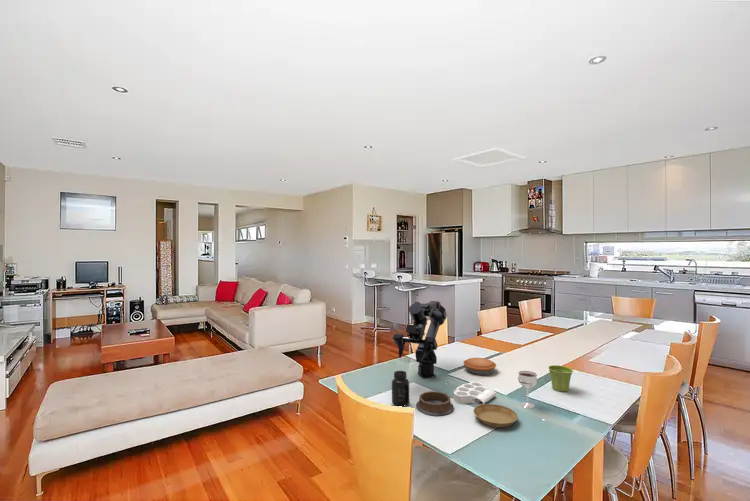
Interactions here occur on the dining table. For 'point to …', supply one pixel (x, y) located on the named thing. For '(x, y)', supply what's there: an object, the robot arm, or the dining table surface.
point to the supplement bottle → (400, 389)
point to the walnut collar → (434, 404)
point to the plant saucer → (495, 415)
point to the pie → (479, 365)
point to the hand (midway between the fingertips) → (409, 359)
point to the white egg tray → (473, 393)
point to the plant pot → (560, 377)
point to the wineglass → (527, 384)
